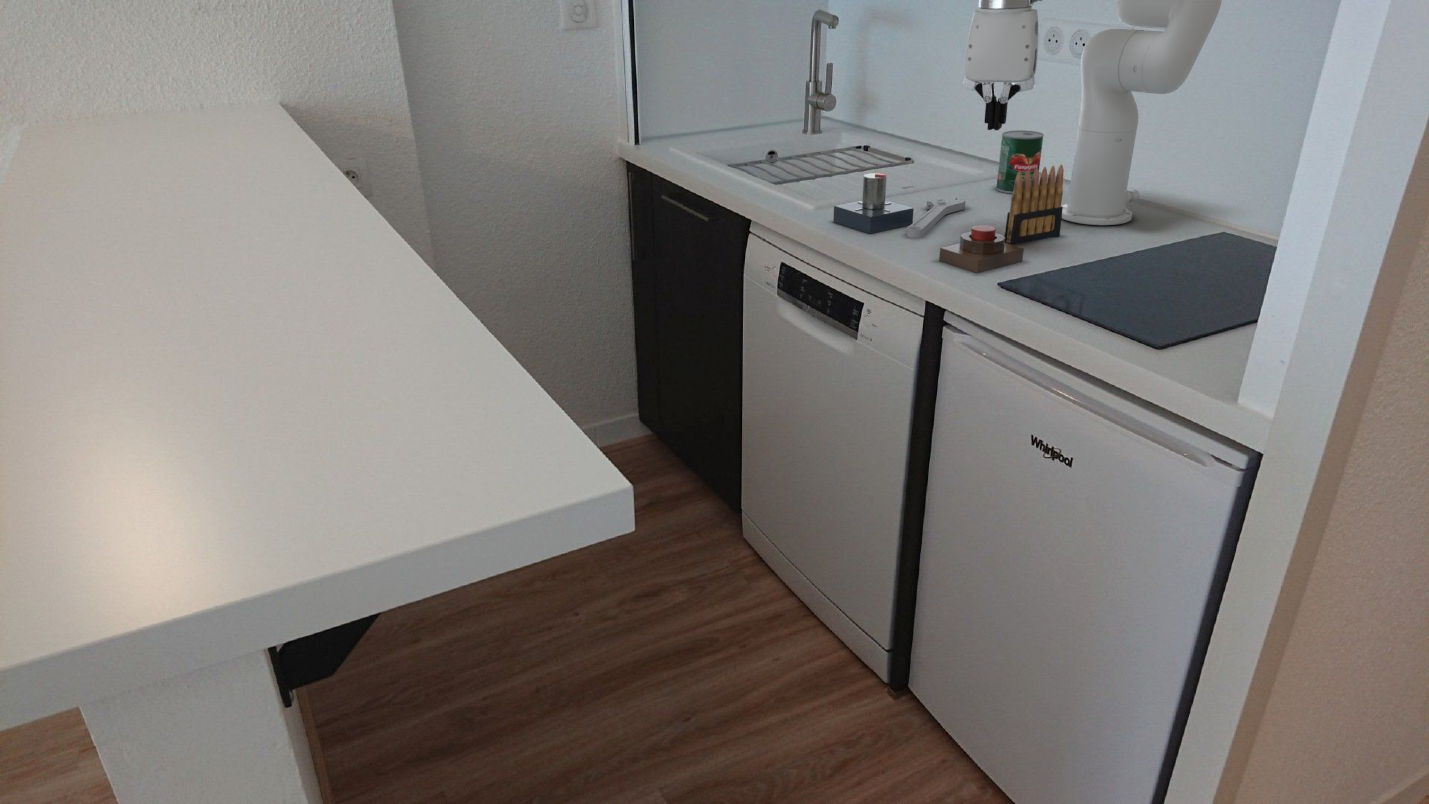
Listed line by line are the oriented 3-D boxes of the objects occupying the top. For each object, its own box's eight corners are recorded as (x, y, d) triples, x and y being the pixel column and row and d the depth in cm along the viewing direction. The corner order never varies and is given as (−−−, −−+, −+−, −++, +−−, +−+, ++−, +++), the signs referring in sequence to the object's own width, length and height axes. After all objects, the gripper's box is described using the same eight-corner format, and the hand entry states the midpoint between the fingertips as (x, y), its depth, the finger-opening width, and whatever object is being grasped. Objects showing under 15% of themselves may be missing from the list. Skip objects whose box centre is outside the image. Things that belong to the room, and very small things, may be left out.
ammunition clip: (1051, 233, 162) (1061, 162, 157) (1059, 236, 161) (1069, 164, 156) (1003, 242, 158) (1011, 170, 153) (1010, 245, 157) (1019, 172, 152)
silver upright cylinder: (859, 208, 169) (860, 175, 166) (866, 203, 172) (867, 170, 170) (880, 210, 167) (882, 177, 165) (887, 205, 171) (889, 172, 168)
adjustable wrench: (919, 239, 161) (920, 229, 161) (884, 235, 164) (884, 225, 164) (968, 206, 180) (969, 197, 179) (936, 203, 183) (936, 193, 183)
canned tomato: (1020, 196, 187) (1026, 138, 182) (987, 189, 193) (993, 133, 188) (1045, 189, 191) (1052, 133, 186) (1012, 183, 197) (1018, 128, 192)
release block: (983, 250, 155) (985, 226, 153) (1022, 262, 148) (1025, 237, 147) (938, 261, 150) (940, 236, 148) (977, 273, 144) (979, 248, 142)
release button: (982, 234, 150) (983, 223, 149) (999, 239, 147) (1000, 228, 146) (965, 238, 148) (966, 227, 147) (983, 243, 145) (984, 232, 145)
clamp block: (875, 213, 177) (875, 196, 176) (912, 224, 170) (913, 207, 168) (833, 222, 172) (833, 204, 171) (870, 234, 165) (870, 215, 163)
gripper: (1062, -3, 139) (1048, 126, 147) (960, -1, 145) (952, 122, 153) (1054, 1, 133) (1040, 135, 141) (948, 3, 139) (940, 131, 147)
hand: (994, 128), depth 147 cm, fingers closed
